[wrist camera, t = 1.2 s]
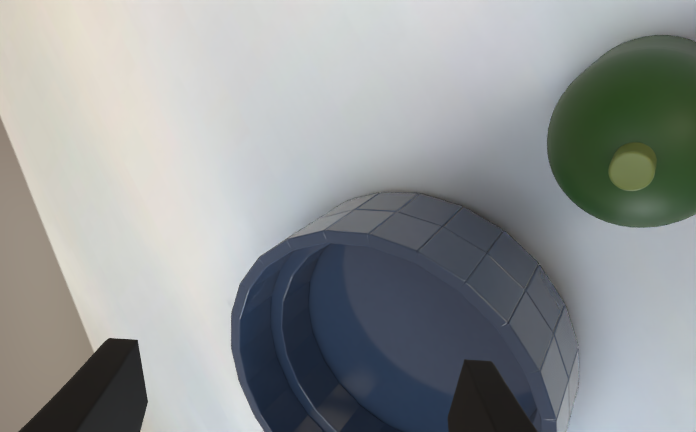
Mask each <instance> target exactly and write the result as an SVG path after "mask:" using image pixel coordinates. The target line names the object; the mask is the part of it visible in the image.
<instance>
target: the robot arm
mask: <svg viewBox="0 0 696 432" xmlns="http://www.w3.org/2000/svg"><path fill="white" fill-rule="evenodd" d="M147 403H148V400H147V394H146V388H145V382H144V376H143V370H142V364H141V358H140V352H139V346H138V340H131V339H114V338H109V339H107V340H106V341H105V342H104V343H103V344H102V345H101V346H100V347H99V348H98V350H97V351H96V352H95V353H94V354H93V355H92V356H91V357H90V358H89V359H88V361H87V362H86V363H85V364H84V365H83V366H82V367H81V368H80V370H78V372H77V373H76V374H75V375H74V376H73V377H72V378H71V379H70V380H69V381H68V382H67V383H66V384H65V385H64V386H63V387H62V388H61V390H60V391H59V392H58V393H57V394H56V395H55V396H54V397H53V398H52V399H51V400H50V401H49V402H48V403H47V404H46V405H45V406H44V407H43V408H42V409H41V410H40V411H39V412H38V413H37V414H36V415H35V416H34V417H33V418H32V419H31V420H30V421H29V422H28V423H27V424H26V425H25V426H24V427H23V428H22V429H21V430H20V431H19V432H140V430H141V426H142V422H143V418H144V415H145V411H146V407H147ZM447 419H448V430H449V432H538V431H537V430H536V428H535V427H534V425H533V424H532V422H531V421H530V419H529V418H528V416H527V415H526V413H525V412H524V410H523V409H522V407H521V406H520V404H519V403H518V401H517V400H516V398H515V397H514V395H513V393H512V392H511V390H510V389H509V387H508V385H507V384H506V382H505V381H504V379H503V377H502V376H501V374H500V373H499V371H498V369H497V368H496V366H495V365H494V364H493V362H492V361H484V360H467V359H464V363H463V366H462V369H461V373H460V376H459V380H458V383H457V387H456V390H455V394H454V397H453V400H452V404H451V407H450V411H449V414H448V418H447Z"/></svg>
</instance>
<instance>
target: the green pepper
mask: <svg viewBox="0 0 696 432" xmlns="http://www.w3.org/2000/svg"><path fill="white" fill-rule="evenodd" d="M547 152H548V158H549V163H550V166H551V169H552V172H553V175H554V177H555V179H556V181H557V183H558V184H559V186H560V187H561V189H562V190H563V191H564V193H565V194H566V195H567V196H568V197H569V198H570V199H571V200H572V201H573V202H574V203H575V204H576V205H577V206H578V207H580V208H581V209H582V210H584V211H585V212H587V213H588V214H590V215H592V216H594V217H596V218H598V219H600V220H603V221H606V222H608V223H612V224H616V225H620V226H626V227H638V228H646V227H658V226H663V225H668V224H672V223H675V222H678V221H682V220H684V219H686V218H689V217H691V216H693V215H695V214H696V42H695V41H692V40H690V39H686V38H682V37H677V36H669V35H654V36H646V37H641V38H637V39H633V40H631V41H628V42H625V43H623V44H621V45H619V46H617V47H615V48H613V49H611V50H610V51H608V52H607V53H605V54H604V55H603V56H601V57H600V58H599V59H598V60H597V61H596V62H594V63H593V64H592V65H591V66H590V67H589V68H587V69H586V70H585V71H584V72H583V73H582V74H580V75H579V76H578V77H577V78H576V79H575V80H574V81H573V82H572V83H571V84H570V85H569V86H568V88H567V89H566V91H565V92H564V93H563V95H562V96H561V98H560V99H559V101H558V103H557V105H556V107H555V109H554V111H553V114H552V116H551V119H550V123H549V128H548V135H547Z"/></svg>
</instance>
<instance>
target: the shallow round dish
mask: <svg viewBox="0 0 696 432" xmlns="http://www.w3.org/2000/svg"><path fill="white" fill-rule="evenodd" d="M231 349H232V354H233V358H234V362H235V367H236V371H237V375H238V380H239V382H240V385H241V387H242V389H243V392H244V394H245V396H246V398H247V401H248V403H249V405H250V408H251V410H252V412H253V414H254V415H255V418H256V419H257V421H258V422H259V424H260V426H261V427H262V429H263V430H264V432H449V430H448V419H447V418H448V414H449V411H450V407H451V404H452V400H453V397H454V394H455V390H456V387H457V383H458V380H459V376H460V373H461V369H462V366H463V363H464V359H467V360H484V361H492V362H493V364H494V365H495V366H496V368H497V369H498V371H499V373H500V374H501V376H502V377H503V379H504V381H505V382H506V384H507V385H508V387H509V389H510V390H511V392H512V393H513V395H514V397H515V398H516V400H517V401H518V403H519V404H520V406H521V407H522V409H523V410H524V412H525V413H526V415H527V416H528V418H529V419H530V421H531V422H532V424H533V425H534V427H535V428H536V430H537V431H538V432H566V431H567V428H568V424H569V420H570V417H571V413H572V409H573V406H574V402H575V398H576V395H577V391H578V385H579V349H578V343H577V339H576V336H575V333H574V330H573V327H572V324H571V320H570V317H569V314H568V311H567V308H566V305H565V304H564V302H563V300H562V299H561V297H560V295H559V294H558V292H557V291H556V289H555V288H554V286H553V285H552V283H551V281H550V280H549V278H548V277H547V275H546V274H545V272H544V271H543V269H542V267H541V266H540V265H538V262H537V261H536V260H535V259H534V258H533V257H532V256H531V255H530V254H528V253H527V252H526V251H525V250H524V249H523V248H522V247H521V246H520V245H519V244H518V243H517V242H516V241H515V240H514V239H513V238H512V237H511V236H510V235H508V234H507V233H506V232H505V231H503V230H502V229H501V228H499V227H497V226H496V225H494V224H492V223H490V222H489V221H487V220H485V219H484V218H482V217H480V216H478V215H477V214H475V213H473V212H472V211H470V210H468V209H466V208H465V207H462V206H461V205H458V204H454V203H451V202H448V201H444V200H441V199H438V198H434V197H431V196H428V195H424V194H418V193H389V192H381V193H379V192H378V193H374V194H371V195H367V196H363V197H359V198H356V199H352V200H348V201H346V202H344V203H342V204H340V205H339V206H337V207H336V208H334V209H333V210H331V211H329V212H328V213H326V214H325V215H323V216H322V217H320V218H319V219H317V220H315V221H314V222H312V223H311V224H309V225H308V226H306V227H304V228H303V229H301V230H300V231H298V232H297V233H295V234H293V235H292V236H290V237H289V238H287V239H286V240H284V241H283V242H281V243H280V244H278V245H277V246H275V247H273V248H272V249H270V250H269V251H267V252H266V253H264V254H263V255H261V256H260V257H259V258H258V259H257V261H256V262H255V263H254V265H253V266H252V267H251V269H250V270H249V272H248V273H247V274H246V276H245V277H244V279H243V280H242V281H241V283H240V285H239V289H238V292H237V296H236V299H235V302H234V306H233V309H232V313H231Z"/></svg>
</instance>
